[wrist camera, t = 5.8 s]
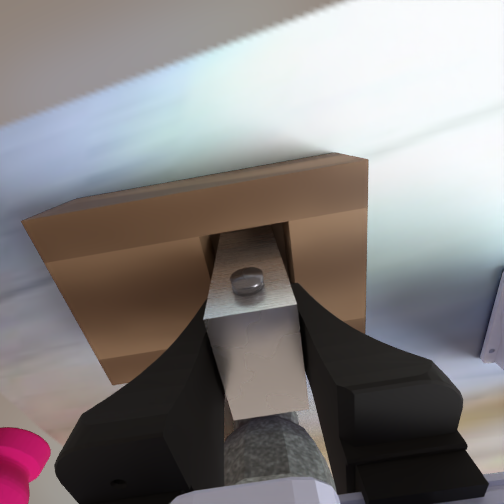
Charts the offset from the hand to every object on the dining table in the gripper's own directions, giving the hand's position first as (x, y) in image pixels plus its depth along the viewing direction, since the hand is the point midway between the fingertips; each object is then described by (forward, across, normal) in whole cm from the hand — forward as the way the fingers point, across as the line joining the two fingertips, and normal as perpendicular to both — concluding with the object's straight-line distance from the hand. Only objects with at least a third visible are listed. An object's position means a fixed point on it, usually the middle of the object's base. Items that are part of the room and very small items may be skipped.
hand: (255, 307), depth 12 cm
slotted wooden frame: (+6, +2, 0) cm, 7 cm away
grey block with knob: (+5, 0, 0) cm, 5 cm away
